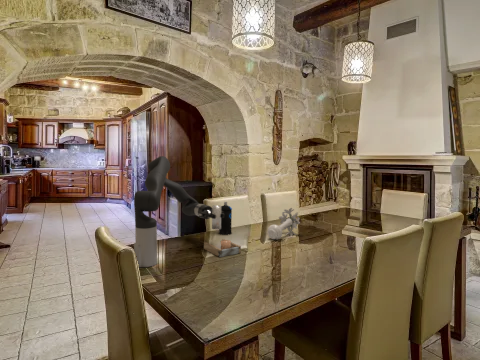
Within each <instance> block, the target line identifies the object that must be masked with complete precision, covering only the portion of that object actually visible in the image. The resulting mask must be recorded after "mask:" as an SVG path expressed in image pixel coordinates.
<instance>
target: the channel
mask: <svg viewBox="0 0 480 360" xmlns="http://www.w3.org/2000/svg"><path fill="white" fill-rule="evenodd" d="M222 240H226V239H225V238H222ZM222 240H221V241H222ZM203 249H204V250H205V251H207V252H208V253H211V254H213V255H215V256H216V257H219V258H222V257H228V256H232V255H233V256H234V255H237V254H241V253H242V252H241V250H242V246H240V245H239V244H236V243H235V242H231V248H228V249H223V250H221V248H219V247H218V246H215V245H213V244H211V243H209V242H206V241H205V242H203Z"/></svg>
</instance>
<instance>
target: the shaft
mask: <svg viewBox="0 0 480 360" xmlns="http://www.w3.org/2000/svg"><path fill="white" fill-rule="evenodd" d="M221 206H222V205H218V204H216V205H211V207H212V214H215V215H216V216H215V219H213V218H211V229H212V230H218V231H219V229H221Z"/></svg>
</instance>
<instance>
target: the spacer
mask: <svg viewBox="0 0 480 360" xmlns="http://www.w3.org/2000/svg"><path fill="white" fill-rule="evenodd" d="M228 248H231V240H229V239H225V240H221V241H220V249H221V250H223V249H228Z"/></svg>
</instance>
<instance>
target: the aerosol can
mask: <svg viewBox="0 0 480 360" xmlns="http://www.w3.org/2000/svg"><path fill="white" fill-rule="evenodd" d="M220 206H221V211H223V213H224V214H225V215H224V218H222V217H221V229H218V234H219V235H221V234H222V236H229V235H232V219H233V218H232V216H233V215H232V212H233V211H232V210H233V208H232V207H231V206H229V205H228V202H227V201H224V202H223V205H220ZM228 234H229V235H228Z"/></svg>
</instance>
